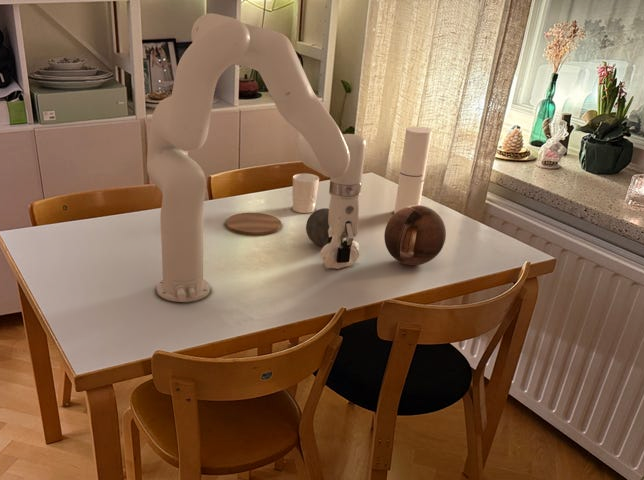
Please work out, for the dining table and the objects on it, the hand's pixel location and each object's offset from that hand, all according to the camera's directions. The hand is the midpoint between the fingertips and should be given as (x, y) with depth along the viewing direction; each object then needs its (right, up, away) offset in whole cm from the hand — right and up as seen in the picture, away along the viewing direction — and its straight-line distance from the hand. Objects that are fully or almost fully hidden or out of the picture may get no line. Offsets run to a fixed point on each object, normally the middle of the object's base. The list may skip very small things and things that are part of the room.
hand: (338, 255), depth 178 cm
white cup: (-5, +19, +36) cm, 41 cm away
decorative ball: (-2, +5, +12) cm, 13 cm away
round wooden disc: (-21, +12, +24) cm, 34 cm away
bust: (0, -2, +1) cm, 3 cm away
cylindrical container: (+26, +18, +34) cm, 46 cm away
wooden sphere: (+19, -2, +2) cm, 19 cm away
